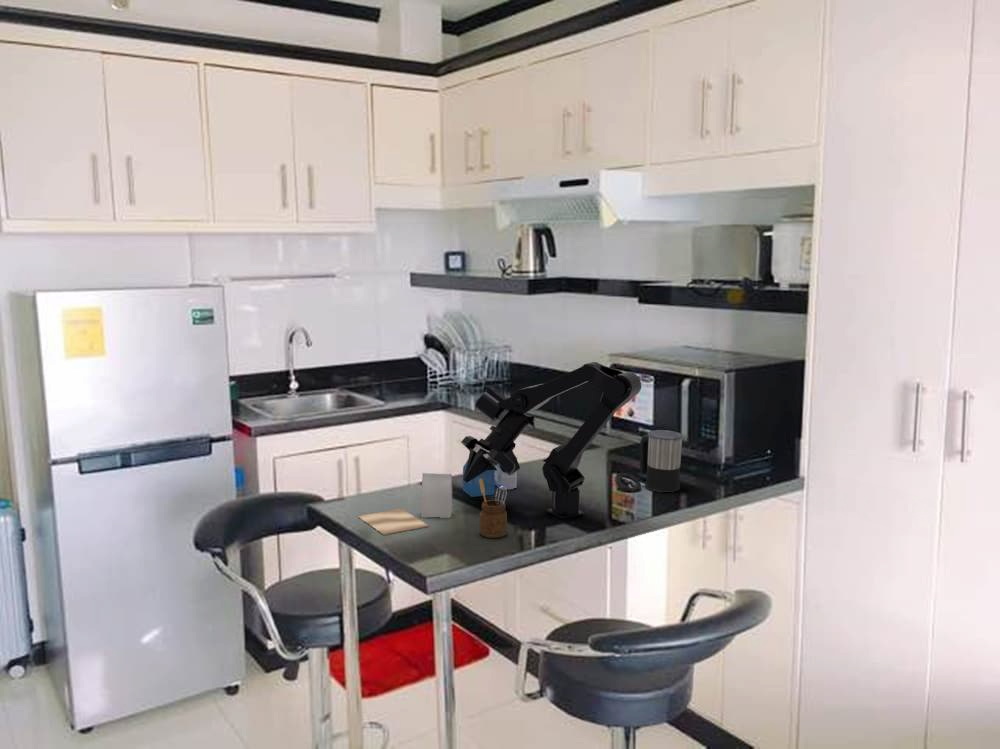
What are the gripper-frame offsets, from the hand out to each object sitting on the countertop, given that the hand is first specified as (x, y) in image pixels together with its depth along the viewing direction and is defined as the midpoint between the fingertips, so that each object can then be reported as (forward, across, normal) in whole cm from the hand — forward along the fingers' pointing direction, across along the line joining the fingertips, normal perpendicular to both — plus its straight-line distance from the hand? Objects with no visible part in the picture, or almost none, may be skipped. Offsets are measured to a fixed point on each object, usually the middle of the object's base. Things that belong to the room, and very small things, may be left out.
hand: (464, 481), depth 194 cm
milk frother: (-31, -3, -42) cm, 52 cm away
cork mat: (+18, -1, +8) cm, 20 cm away
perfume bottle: (-2, +12, -12) cm, 17 cm away
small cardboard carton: (+10, 0, 0) cm, 10 cm away
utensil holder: (+6, -17, -4) cm, 19 cm away
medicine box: (-8, +15, -18) cm, 25 cm away
